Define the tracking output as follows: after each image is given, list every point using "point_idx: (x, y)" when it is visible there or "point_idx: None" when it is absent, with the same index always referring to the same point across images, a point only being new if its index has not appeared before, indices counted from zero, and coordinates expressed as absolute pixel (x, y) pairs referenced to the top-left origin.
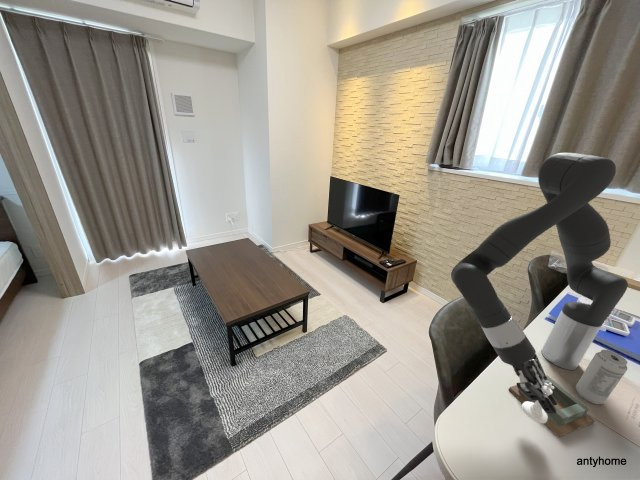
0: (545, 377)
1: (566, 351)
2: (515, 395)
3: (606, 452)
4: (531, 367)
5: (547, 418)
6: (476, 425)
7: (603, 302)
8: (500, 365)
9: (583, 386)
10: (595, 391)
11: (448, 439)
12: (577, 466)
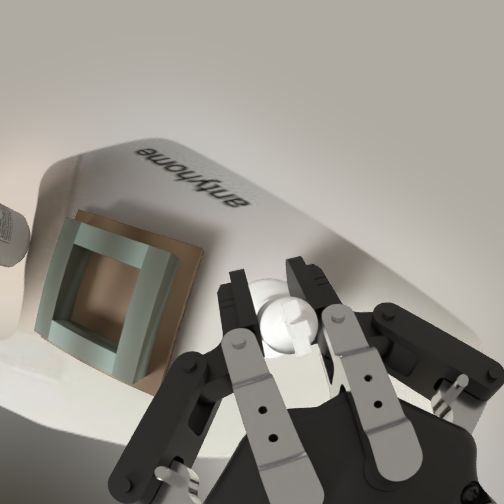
0: (196, 366)
1: None
2: (165, 374)
3: (150, 174)
4: (415, 472)
5: (265, 279)
6: None
7: None
8: (92, 430)
9: (7, 250)
10: (7, 225)
11: None
12: (255, 201)
